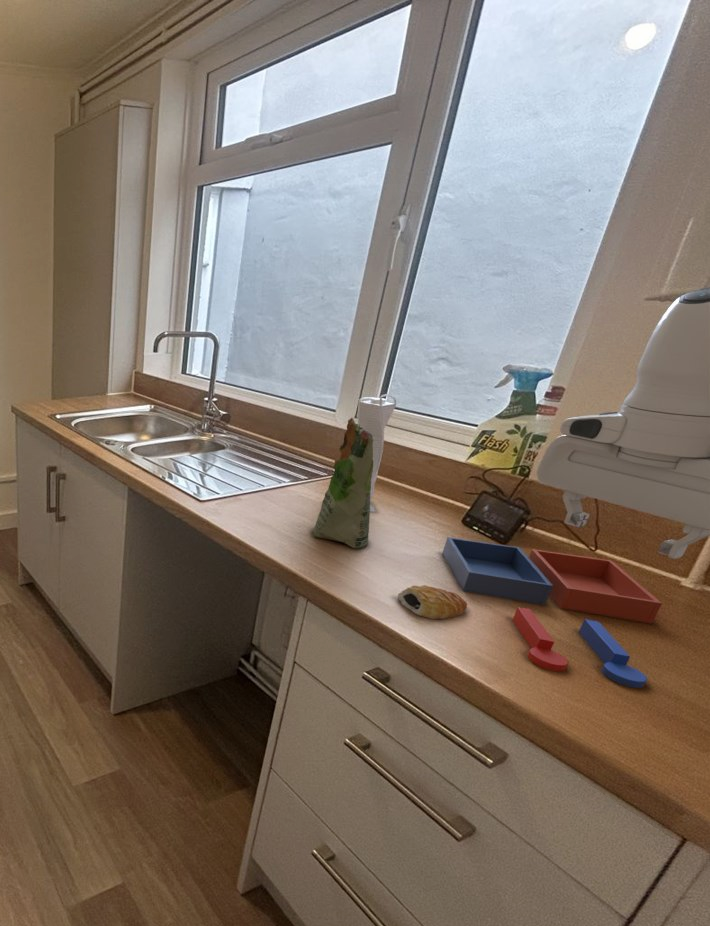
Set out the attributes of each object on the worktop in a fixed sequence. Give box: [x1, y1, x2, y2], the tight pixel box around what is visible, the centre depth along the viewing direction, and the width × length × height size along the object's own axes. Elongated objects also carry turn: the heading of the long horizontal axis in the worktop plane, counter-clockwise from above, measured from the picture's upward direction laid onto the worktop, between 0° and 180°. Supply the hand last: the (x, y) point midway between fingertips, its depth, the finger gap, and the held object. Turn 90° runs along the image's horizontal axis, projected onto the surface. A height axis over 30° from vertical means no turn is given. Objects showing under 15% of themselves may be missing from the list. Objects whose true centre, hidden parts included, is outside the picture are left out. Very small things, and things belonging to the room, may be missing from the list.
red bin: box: [528, 548, 663, 624], centre depth 90 cm, size 11×15×4 cm
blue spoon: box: [578, 618, 648, 689], centre depth 74 cm, size 4×13×3 cm, turn 155°
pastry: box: [397, 584, 468, 620], centre depth 86 cm, size 9×7×4 cm
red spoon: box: [512, 606, 569, 672], centre depth 77 cm, size 4×13×3 cm, turn 156°
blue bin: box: [441, 536, 553, 606], centre depth 95 cm, size 11×15×4 cm
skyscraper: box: [357, 393, 397, 513], centre depth 122 cm, size 8×8×28 cm
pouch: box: [312, 417, 374, 550], centre depth 107 cm, size 11×12×25 cm
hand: (618, 539), depth 67 cm, fingers open, 8 cm apart
